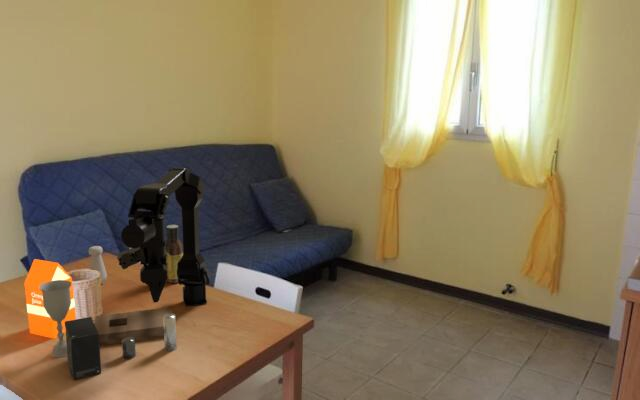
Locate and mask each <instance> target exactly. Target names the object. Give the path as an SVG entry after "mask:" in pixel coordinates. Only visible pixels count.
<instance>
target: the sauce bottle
mask: <svg viewBox="0 0 640 400" xmlns="http://www.w3.org/2000/svg"><path fill="white" fill-rule="evenodd" d="M179 227H180V226H179V225H177V224H169V225H167V226H166V227H165V228H166V229H165V230H166V235H167V236H166V240H165V250H166V256H167V260H166V267H167V273H168V279H167V281H166V282H168V283H171V284H175V283H176V284H177V283H178V284H179V281H178V277H177V268H178V267H177V264H178V262H179V261H180V259H181V258H182V256H183V242H182V241H181V240H180V236H179V229H180V228H179Z"/></svg>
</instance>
